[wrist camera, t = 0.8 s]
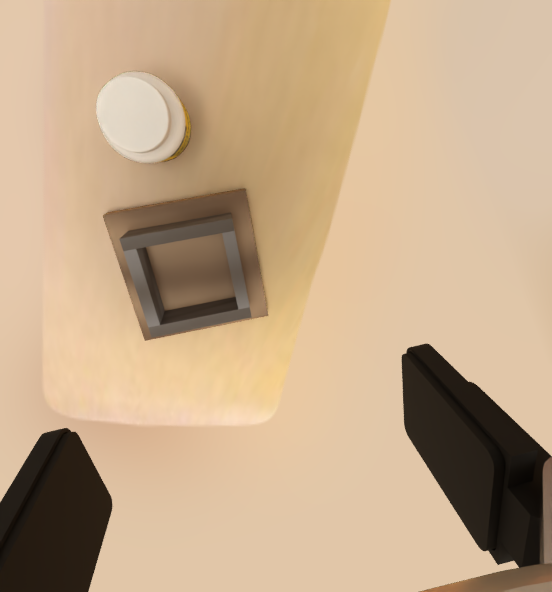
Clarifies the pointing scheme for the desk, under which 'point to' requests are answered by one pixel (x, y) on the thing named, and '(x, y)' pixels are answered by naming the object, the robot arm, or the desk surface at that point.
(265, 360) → the desk surface
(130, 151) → the supplement bottle
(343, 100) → the desk surface
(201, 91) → the desk surface
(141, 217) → the socket stand
